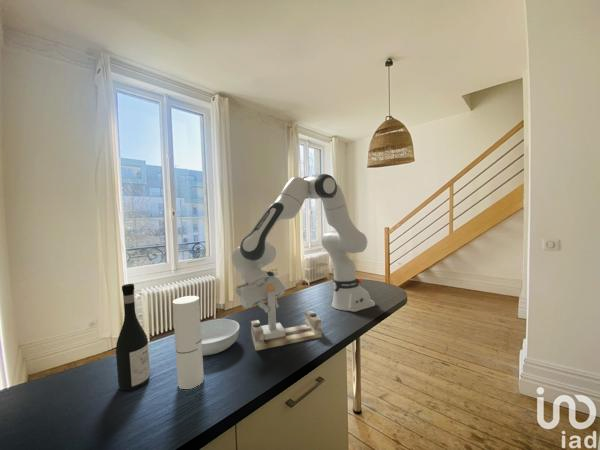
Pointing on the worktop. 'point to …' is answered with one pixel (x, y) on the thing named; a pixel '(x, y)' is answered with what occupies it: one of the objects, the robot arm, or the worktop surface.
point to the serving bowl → (218, 335)
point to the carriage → (272, 317)
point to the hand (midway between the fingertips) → (272, 309)
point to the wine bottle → (131, 347)
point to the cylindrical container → (188, 341)
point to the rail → (288, 333)
